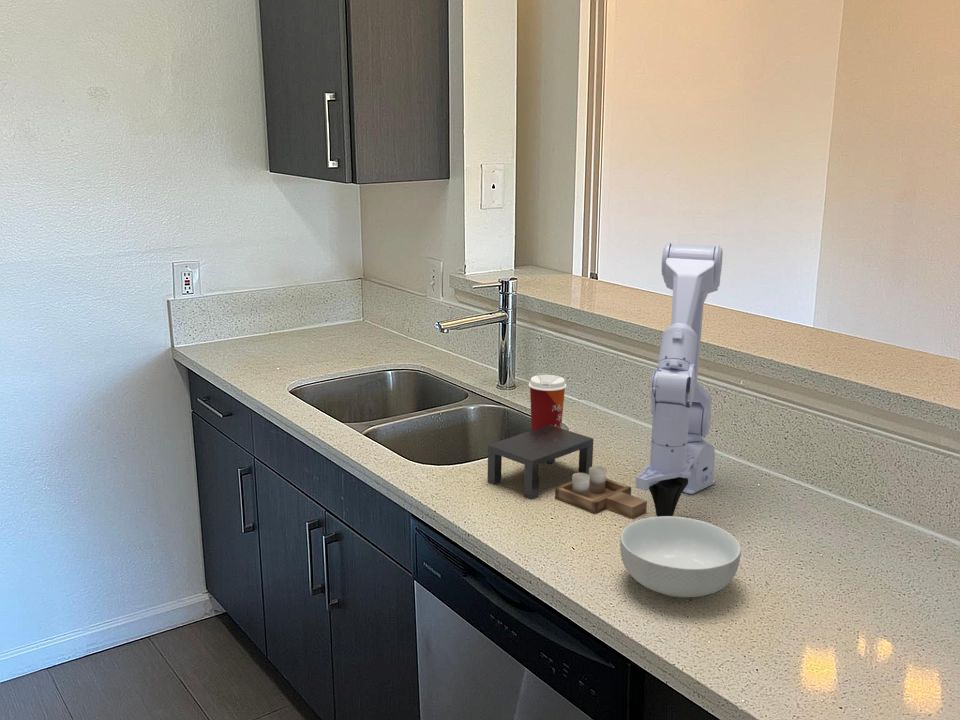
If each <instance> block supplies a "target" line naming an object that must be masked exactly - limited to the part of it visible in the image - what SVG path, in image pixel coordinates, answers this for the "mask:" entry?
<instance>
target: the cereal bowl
mask: <svg viewBox="0 0 960 720" xmlns="http://www.w3.org/2000/svg"><path fill="white" fill-rule="evenodd" d="M619 542H620V543H619V547H620V548H619V551H620V557H621V561H622V564H623V565H624V568H625V569H626V571H627V573H628V574H629V575H630V576H631V577H632V578H633V579H634V580H635V581H637V582H638V583H639V584H641V586H644V587H645V588H647V589H649V590H651V591H654V592H656V593H659V594H662V595H664V596H668V597H672V598H679V599H680V598H681V599H683V598H685V599H686V598H688V599H689V598H698V597H704V596H708V595H712V594H714V593H717V592H719V591H720V590H723V589H724V588H725V587H726V586H728V584H729V583H730V582H732V580H733V579H734V578H735V576H736V575H737V572H738V568H739V567H740V562H741V555H742V547H741V544H740V542H739V541H738V539H737V538H736V537H734V536H733V534H731V533H729V532H728V531H726V530H725V529H723V528H721V527H719V526H717V525H715V524H712V523H710V522H707V521H703V520H698V519H695V518H689V517H684V516H683V517H682V516H674V515H673V516H659V517H657V516H651V517H646V518H641V519H639V520H636V521H633V522H631V523H629V524H628V525H626V527H625V528H624V529H623V530H622V531H621V534H620V540H619Z"/></svg>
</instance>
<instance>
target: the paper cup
mask: <svg viewBox="0 0 960 720" xmlns="http://www.w3.org/2000/svg"><path fill="white" fill-rule="evenodd" d="M565 380H566V379H565V378H564V377H562V376H558V375H555V374H554V375H553V374H537V375H534V376H532V377H531V378H530V381H529V383H528V387H529V392H530V393H529V395H530V416H531V417H530V420H531V424H530V425H531V426H530V427H531V430H534V429H537V428H540V427H543V426H546V425H552V426H555V427H558V428H562V424H563V414H564V413H563V411H564V402H565V390H566V388H567V383H566V381H565Z"/></svg>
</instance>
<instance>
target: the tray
mask: <svg viewBox="0 0 960 720" xmlns="http://www.w3.org/2000/svg"><path fill="white" fill-rule="evenodd" d="M571 476H572V477H571V478H572V480H570V481H568V482H566V483H563V484H561V485H559V486H556V487H555V488H554V489H555V490H554V493H555V494H554V498H555V499H556V500H559V501H562V502H564V503H567V504H569V505H572V506H574V507H577V508H579V509H581V510H584V511H587V512H589V513H591V514H595V515H596V514H598V513H600V512H603V511H605V510H607V511H611V512H614V513H616V514H619V515H621V516H624V517H627V518H630V519H634V518H637V517H638V516H640V515H643V514H644V513H647V504H648V501H647V500H645V499H642V498H640V497H638V496H634V495H632V487H631V486H630V485H627V484H623V483H621V482H617V481H615V480H612V479H610V478H607V468H605V467H603V466H599V465H594V466H593V465H592V467H590V468H589V474H586V473H579V472H574V473H573V474H572V475H571Z"/></svg>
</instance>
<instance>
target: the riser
mask: <svg viewBox="0 0 960 720" xmlns="http://www.w3.org/2000/svg"><path fill="white" fill-rule="evenodd" d="M574 452H578V473H586V474H589V468H590V467H593V463H594V462H593V460H594V457H593V455H594V438H593V437H590V436H586V435H583V434H580V433H577V432H573V431H571V430H568V429H564V428H562V427H561V428H558V427H555V426H552V425H546V426H543V427H540V428H537V429H534V430H532V429H531V430H529V431H526V432H523V433H519V434H517V435H516V434H515V435H513V436H511V437H508V438H504V439H501V440H499V441H496V442H493V443H490V444H487V483H490V484H492V485H497V484H500V483H502V464H503V462H502V460H503V459H502V458H506V459H508V460H511V461H514V462H516V463H519V464H522V465H524V477H523V478H524V480H523V481H524V482H523V483H524V487H523V488H524V489H523V497H524V498H526V499H527V498H528V499H529V500H533V499H536V498H538V497H539V490H540V489H539V488H540V486H539V484H540V465H542V464H548V465H550V464H553V463H555V462H556V459H558V458H561V457H564V456H567V455H569V454H572V453H574Z"/></svg>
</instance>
